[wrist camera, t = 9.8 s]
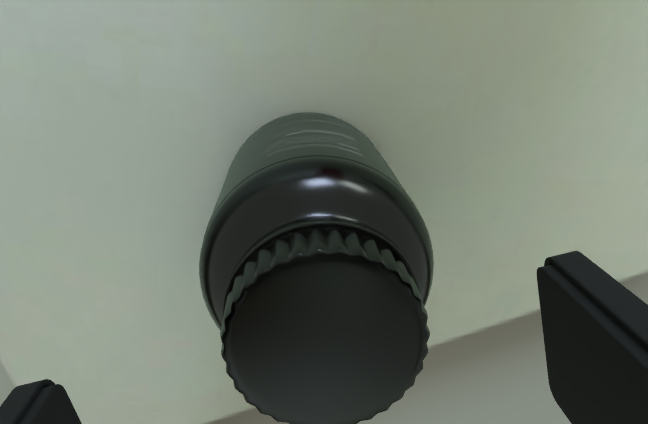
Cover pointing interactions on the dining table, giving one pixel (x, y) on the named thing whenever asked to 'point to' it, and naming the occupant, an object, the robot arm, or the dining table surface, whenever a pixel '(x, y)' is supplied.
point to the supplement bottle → (317, 274)
